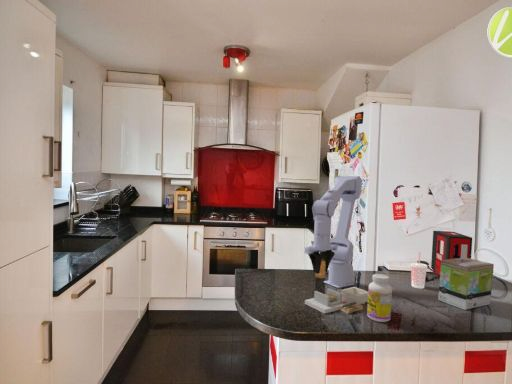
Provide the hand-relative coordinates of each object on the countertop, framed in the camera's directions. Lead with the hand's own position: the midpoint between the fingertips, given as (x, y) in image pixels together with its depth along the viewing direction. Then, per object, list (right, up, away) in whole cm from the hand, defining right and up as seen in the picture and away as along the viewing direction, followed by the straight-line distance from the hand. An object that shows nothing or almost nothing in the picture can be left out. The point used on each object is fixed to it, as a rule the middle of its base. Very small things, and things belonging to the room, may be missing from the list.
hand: (320, 272), depth 113 cm
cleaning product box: (+63, -10, +29) cm, 71 cm away
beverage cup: (+42, -10, +16) cm, 46 cm away
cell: (0, -2, 0) cm, 2 cm away
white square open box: (+12, -9, -3) cm, 15 cm away
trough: (+7, -9, -11) cm, 16 cm away
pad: (+1, -7, -8) cm, 11 cm away
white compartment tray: (+1, -9, -8) cm, 12 cm away
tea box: (+51, -11, -1) cm, 52 cm away
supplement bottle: (+14, -10, -17) cm, 24 cm away
